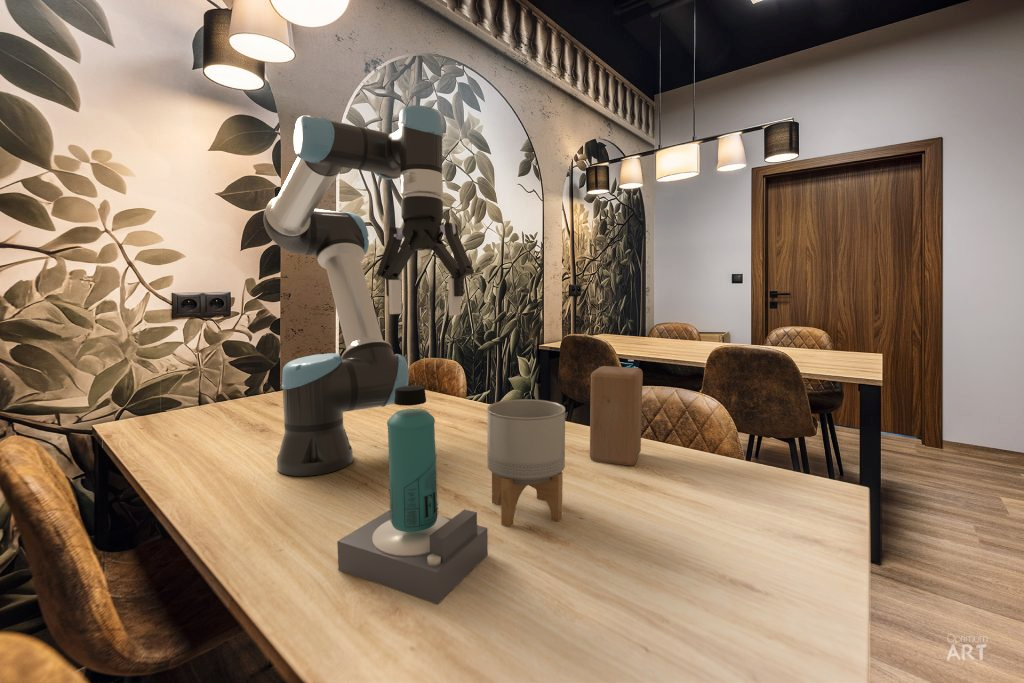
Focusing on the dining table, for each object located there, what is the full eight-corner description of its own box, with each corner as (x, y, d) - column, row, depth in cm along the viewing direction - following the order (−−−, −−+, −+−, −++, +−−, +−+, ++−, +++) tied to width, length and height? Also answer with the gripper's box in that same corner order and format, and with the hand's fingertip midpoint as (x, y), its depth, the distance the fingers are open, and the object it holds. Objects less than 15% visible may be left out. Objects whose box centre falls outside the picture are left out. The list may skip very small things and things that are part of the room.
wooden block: (588, 461, 104) (590, 371, 102) (598, 448, 113) (599, 365, 111) (635, 467, 100) (637, 374, 98) (641, 453, 110) (643, 367, 108)
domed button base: (338, 569, 63) (336, 519, 62) (397, 529, 74) (396, 486, 73) (437, 604, 56) (436, 548, 55) (487, 554, 67) (487, 507, 66)
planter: (541, 537, 72) (541, 422, 70) (472, 516, 78) (471, 410, 77) (576, 505, 83) (578, 404, 81) (513, 489, 89) (513, 396, 88)
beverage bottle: (428, 546, 61) (425, 392, 59) (380, 541, 62) (375, 390, 60) (445, 522, 67) (442, 383, 65) (401, 518, 68) (397, 381, 67)
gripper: (355, 200, 89) (359, 314, 91) (469, 187, 78) (470, 316, 80) (383, 207, 96) (386, 312, 98) (491, 195, 85) (492, 314, 87)
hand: (424, 314), depth 89 cm, fingers open, 13 cm apart
